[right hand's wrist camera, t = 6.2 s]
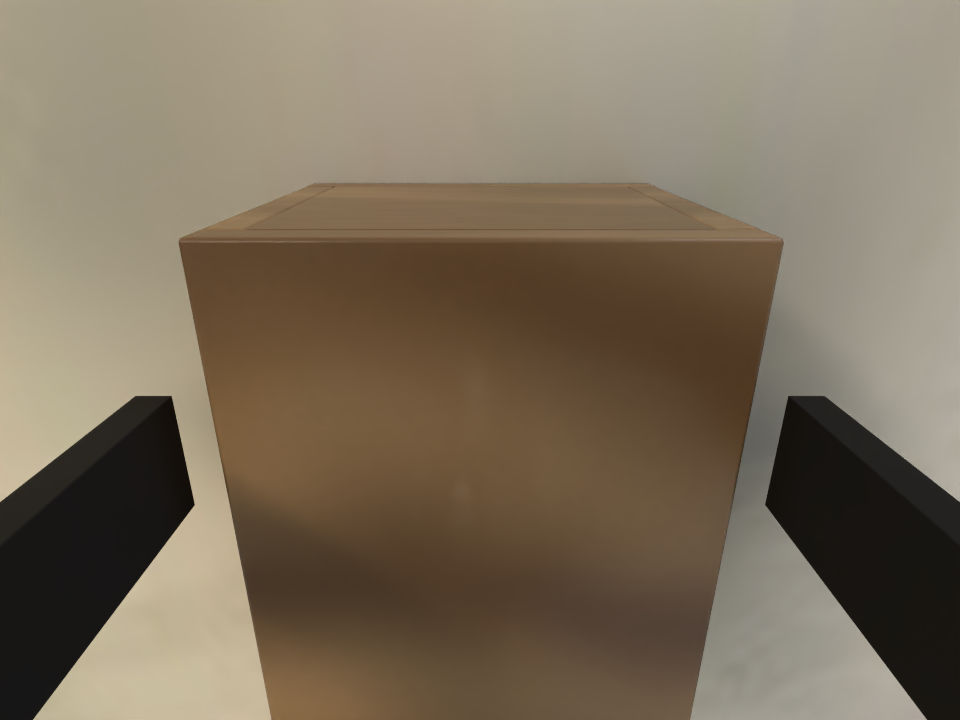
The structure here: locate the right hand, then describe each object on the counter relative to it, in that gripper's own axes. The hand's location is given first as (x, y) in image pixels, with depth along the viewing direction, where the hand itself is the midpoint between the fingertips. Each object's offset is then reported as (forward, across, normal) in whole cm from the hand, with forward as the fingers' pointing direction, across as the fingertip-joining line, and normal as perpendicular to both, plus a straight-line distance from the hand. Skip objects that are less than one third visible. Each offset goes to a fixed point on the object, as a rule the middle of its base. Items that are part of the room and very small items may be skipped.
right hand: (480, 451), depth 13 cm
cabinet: (+8, 0, -3) cm, 9 cm away
